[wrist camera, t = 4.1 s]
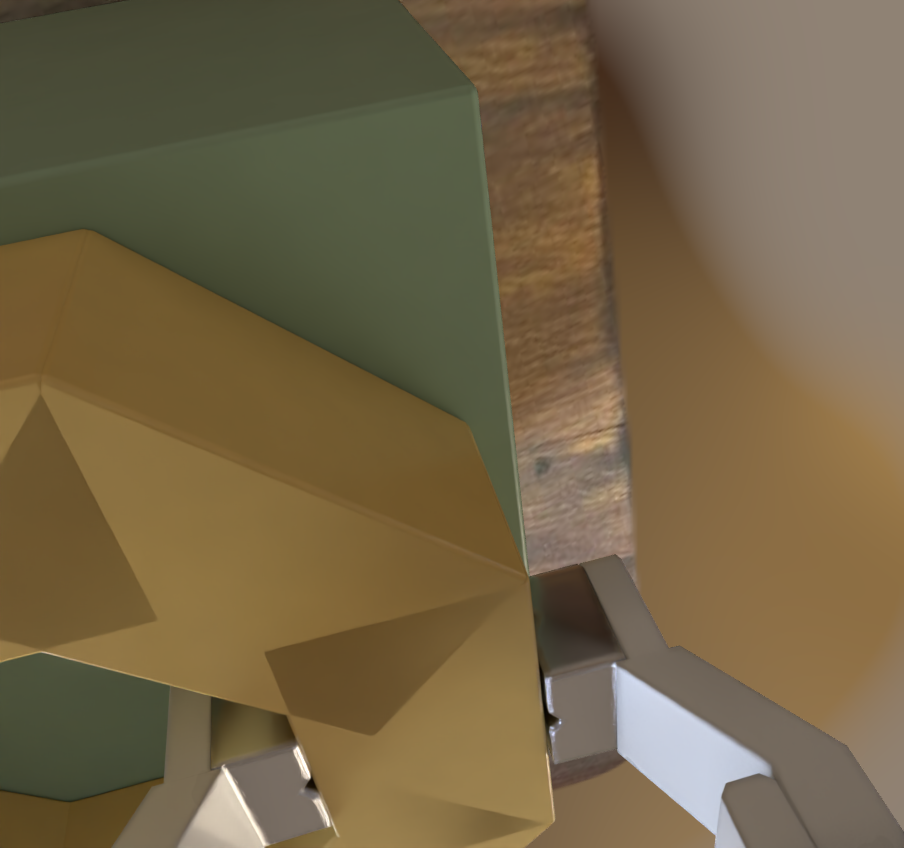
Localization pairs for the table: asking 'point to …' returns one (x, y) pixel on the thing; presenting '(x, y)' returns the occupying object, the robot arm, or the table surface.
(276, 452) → the brass ring
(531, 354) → the table surface
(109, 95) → the plinth
